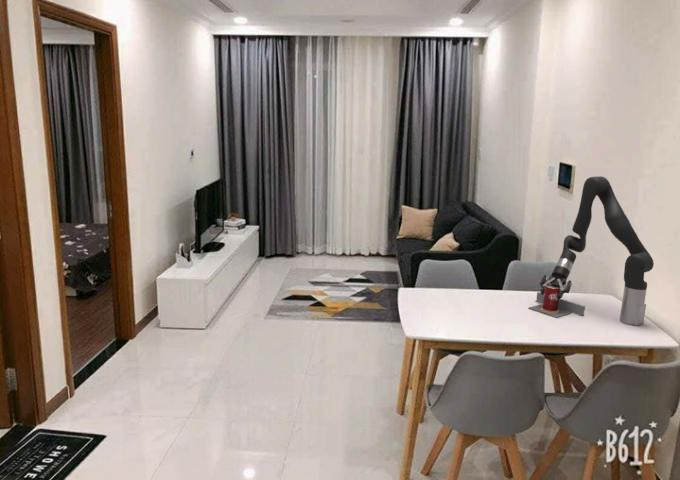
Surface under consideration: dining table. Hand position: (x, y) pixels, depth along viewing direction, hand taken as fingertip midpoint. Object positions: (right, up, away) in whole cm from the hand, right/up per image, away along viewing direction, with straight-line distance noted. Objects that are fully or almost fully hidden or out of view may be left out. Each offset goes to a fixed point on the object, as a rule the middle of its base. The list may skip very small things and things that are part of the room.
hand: (550, 296), depth 273 cm
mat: (+1, -8, +3) cm, 8 cm away
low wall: (+7, -7, +7) cm, 12 cm away
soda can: (+1, -7, +3) cm, 8 cm away
